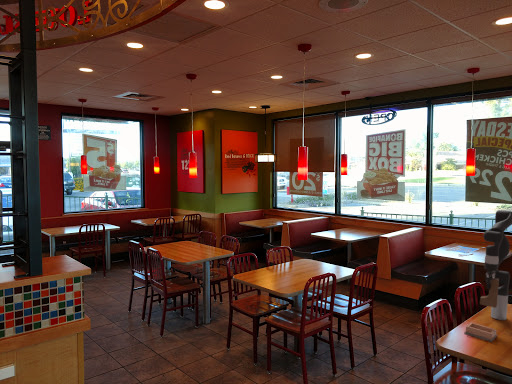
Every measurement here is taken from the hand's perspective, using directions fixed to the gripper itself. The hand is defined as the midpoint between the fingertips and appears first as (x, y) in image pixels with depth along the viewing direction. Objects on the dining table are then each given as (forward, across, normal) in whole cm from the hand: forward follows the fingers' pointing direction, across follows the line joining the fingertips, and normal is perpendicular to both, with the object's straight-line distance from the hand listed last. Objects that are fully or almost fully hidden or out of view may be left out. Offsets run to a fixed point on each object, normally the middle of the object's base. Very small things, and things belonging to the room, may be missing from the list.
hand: (489, 288), depth 247 cm
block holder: (+27, +13, 0) cm, 30 cm away
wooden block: (+12, 0, 0) cm, 12 cm away
